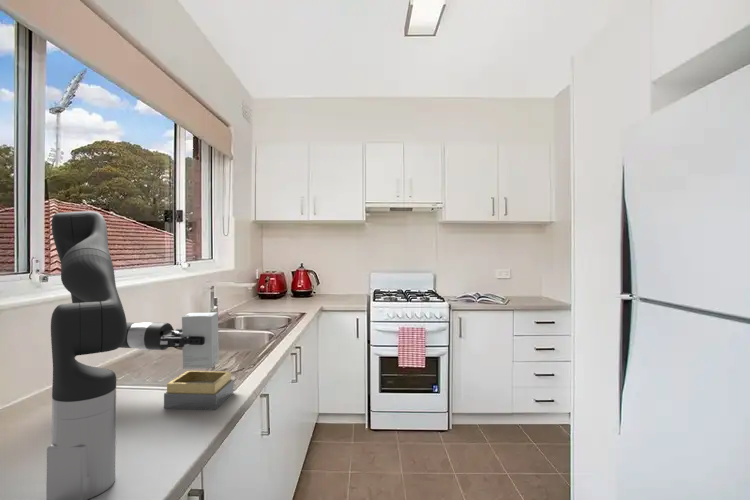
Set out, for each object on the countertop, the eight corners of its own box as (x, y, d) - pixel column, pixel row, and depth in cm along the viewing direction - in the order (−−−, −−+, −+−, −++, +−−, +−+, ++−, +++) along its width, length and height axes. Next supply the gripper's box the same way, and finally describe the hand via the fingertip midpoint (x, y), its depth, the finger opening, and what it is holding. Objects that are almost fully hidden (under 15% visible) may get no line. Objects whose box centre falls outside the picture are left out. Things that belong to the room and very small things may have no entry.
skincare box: (219, 363, 113) (220, 311, 113) (211, 369, 107) (212, 315, 107) (189, 362, 113) (190, 311, 113) (180, 369, 107) (181, 315, 107)
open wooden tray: (215, 409, 104) (216, 385, 104) (163, 408, 104) (164, 384, 104) (237, 389, 119) (237, 367, 119) (191, 388, 119) (191, 366, 119)
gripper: (134, 328, 103) (197, 330, 103) (165, 317, 117) (220, 319, 117) (134, 356, 103) (197, 358, 103) (164, 342, 117) (220, 344, 117)
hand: (209, 337), depth 110 cm, fingers closed on skincare box, 6 cm apart
